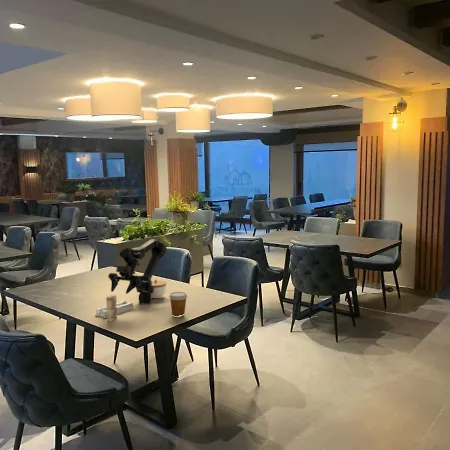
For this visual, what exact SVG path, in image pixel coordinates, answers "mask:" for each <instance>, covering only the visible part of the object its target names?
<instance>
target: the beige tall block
mask: <svg viewBox="0 0 450 450" xmlns="http://www.w3.org/2000/svg"><path fill="white" fill-rule="evenodd" d="M105 300H106V306H107V318H106V321H108V322H112V321H115V320H117V319H118V314H117V303H118V301H117V295H116V294H110V295H107V296H106V299H105Z"/></svg>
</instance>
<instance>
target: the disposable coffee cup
mask: <svg viewBox="0 0 450 450" xmlns="http://www.w3.org/2000/svg"><path fill="white" fill-rule="evenodd" d="M187 297H188V295H187V293H186V292H184V291H173V292H170V294H169V297H168V298H169V300H170V307H171V315H174V316H179V315H183V314H184V315H185V312H186V311H185V310H186V303H187Z"/></svg>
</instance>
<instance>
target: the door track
mask: <svg viewBox="0 0 450 450" xmlns="http://www.w3.org/2000/svg"><path fill="white" fill-rule="evenodd" d="M131 309H133V310H134V309H135V308H134V302H131V301H130V302H127V300H122V301H120V302H117V315H120V314H123V313H126V312H129V311H128V310H130V311H132V310H131ZM95 316H97V317H100V318H102V319H107V305H106V306H103V307H99V308H97V309H95Z"/></svg>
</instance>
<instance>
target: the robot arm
mask: <svg viewBox="0 0 450 450" xmlns="http://www.w3.org/2000/svg"><path fill="white" fill-rule="evenodd" d="M149 251H151V257H150V259H149V262H148V264H147V266H146V268H145V271H144V273H143V274H142V275H136V268H137V267H138V266H140V261H139V260H142V259H143V258H145V256H146V254H147V253H148V252H149ZM166 252H167V246H166V245H165V243H162V242H160V241H159V240H158V239H149V240H148V241H146V242H145V243H143V244H142V245H140V246H138V247H137V246H136V247H132V248H131V249H130V247H125V249H122V250H121V251H120V252H119V257H120V258H121V259H122V260H123V262H124V263H125V266H124V265H116V269H115V272H116V273H114V272H110V273H109V274H108V276H107V277H108V279H109V280H110V281H111V288H110V292H112V293H113V292H114V291H115V290H116V288H117V287H118V285H119V282H120V281H125V282H126V281H127V282H129V283H128V286H127V289H126V291H125V294H126V295H127V294H129V293H130V292H131V291H132V290H134V289H136V292H137V293H139V294H138V303H150V304H152V302H153V301H152V300H153V299H151V293H153V292H154V288H153V286H152V281H153V280H152V278H153V275H154V273H155V270H156V268H157V265H158V264H159V261H160V259H161V258H163V257H164V255H166ZM118 274H119V275H118Z"/></svg>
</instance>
